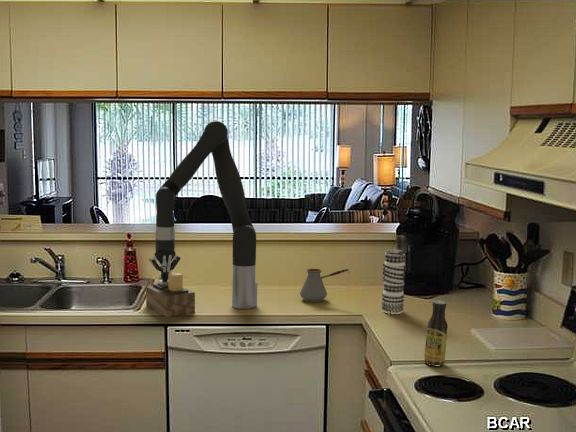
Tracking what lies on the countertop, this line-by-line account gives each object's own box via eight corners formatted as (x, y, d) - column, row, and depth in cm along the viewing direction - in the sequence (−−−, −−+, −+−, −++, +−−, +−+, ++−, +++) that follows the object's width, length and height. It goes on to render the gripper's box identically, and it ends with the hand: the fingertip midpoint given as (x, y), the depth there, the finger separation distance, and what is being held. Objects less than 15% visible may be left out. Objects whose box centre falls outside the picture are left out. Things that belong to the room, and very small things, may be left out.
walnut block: (173, 302, 272) (173, 280, 271) (194, 312, 258) (194, 289, 257) (146, 306, 265) (146, 284, 264) (166, 317, 251) (166, 293, 250)
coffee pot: (295, 301, 279) (296, 266, 277) (306, 295, 289) (307, 261, 287) (343, 308, 270) (344, 271, 268) (352, 301, 280) (354, 266, 278)
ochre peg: (177, 292, 260) (177, 272, 259) (182, 294, 257) (182, 274, 256) (168, 294, 258) (168, 273, 257) (173, 296, 254) (173, 275, 253)
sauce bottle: (420, 364, 207) (423, 301, 204) (429, 359, 212) (432, 298, 209) (440, 369, 203) (443, 305, 200) (448, 364, 208) (452, 301, 205)
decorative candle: (403, 316, 260) (406, 252, 257) (379, 314, 262) (382, 251, 259) (405, 310, 269) (407, 248, 266) (381, 308, 271) (384, 247, 268)
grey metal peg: (167, 298, 268) (167, 279, 267) (171, 301, 265) (171, 281, 264) (158, 300, 265) (158, 280, 264) (162, 302, 262) (162, 282, 261)
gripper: (153, 240, 255) (153, 284, 257) (184, 237, 263) (184, 281, 265) (145, 237, 261) (145, 281, 263) (176, 235, 269) (175, 277, 271)
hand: (165, 280), depth 264 cm, fingers closed
